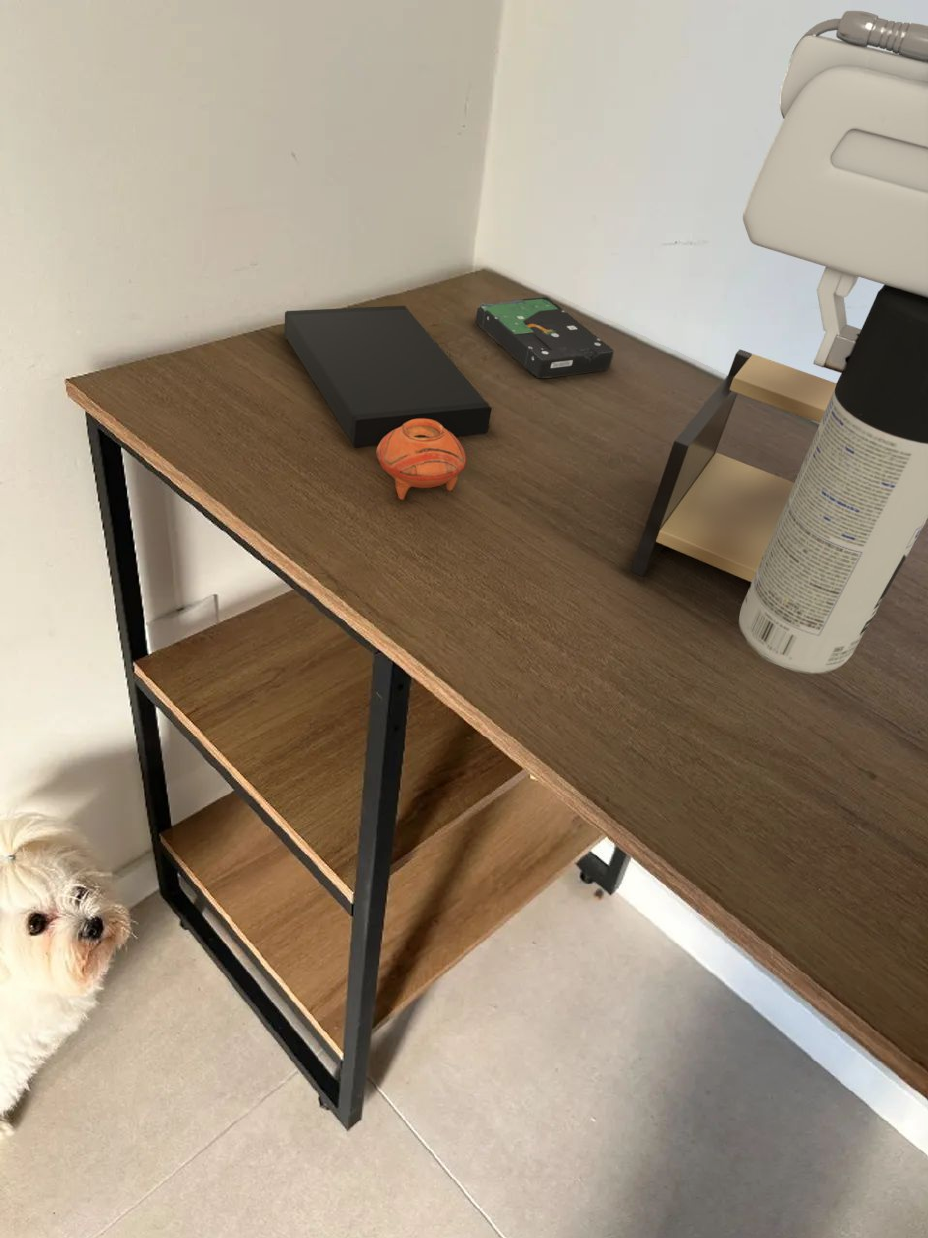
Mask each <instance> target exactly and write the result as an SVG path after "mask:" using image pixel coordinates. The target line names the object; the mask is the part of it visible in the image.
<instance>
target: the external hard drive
mask: <svg viewBox="0 0 928 1238" xmlns="http://www.w3.org/2000/svg"><path fill="white" fill-rule="evenodd" d="M283 334H284V337H285V338H286V340H287V342H288V343H289V345H290V346H291V348H292V349H293V351H294V353H295V355H296V356H297V358H298V359H299V361H300V363H301V364H302V366H303V367H304V368H305V370H306V372H307V374H308V375H309V377H310V379H311V380H312V382H314V385H315V387H316V388H317V390H318V391H319V393H320V394H321V396H322V398H323V399H324V401H325V402H326V404H327V405H328V407H329V408H330V410H331V412H332V414H333V416H334V417H335V418H336V420H337V421H338V423H339V424H340V426H341V427H342V429H343V432H344V433H345V434H346V436H347V437H348V439H349V441H350V442H351V444H352V445H353V447H354V448H364V447H374V446H378V445H379V443H380V442H381V440H382V439H383V438H384V437H385V436H386V435H387V434H388V433H390V432H391V431H393V430H395V429H397V428H399V427H401V426H402V425H403V424H404V423H406V422H408V421H410V420H412V419H422V418H423V419H432V420H435V421H437V422H438V423H440V424H441V425H442V426H443V428H445V429H447V430H448V431H449V432H451V433H452V434H453V435H454V436H455V437H456V438H457V437H466V436H475V435H484V434H487V433H488V431H489V427H490V422H491V421H490V420H491V415H492V410H493V409H492V407H491V405H490V404H489V403H488V402H487V401H486V399H485V398H484V397H483V396H482V395H481V394H480V392H479V391H478V390H477V389H476V388H475V386H474V385H473V384H472V383H471V382H470V381H469V380H468V378H467V377H466V376H465V374H463V372H462V371H461V370H460V369H459V368H458V367H457V366H456V364H455V363H454V361H453V360H452V359H451V358H450V357H449V356H448V354H446V353H445V351H444V350H443V349H442V347H440V345H439V344H438V342H437V341H436V340H435V339H433V337H432V335H430V334H429V332H428V331H427V330H426V329H425V328H424V326H423V325H422V324H421V323H420V322H419V321H418V320H417V318H416V316H414V315H413V313H411V311H410V310H409V309H408V308H407V307H406V305H387V306H385V305H384V306H366V307H365V306H364V307H363V306H362V307H346V308H345V307H344V308H342V307H341V308H322V309H321V308H320V309H302V310H301V309H300V310H286V311H285V312H284V333H283Z"/></svg>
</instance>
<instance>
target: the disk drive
mask: <svg viewBox="0 0 928 1238" xmlns="http://www.w3.org/2000/svg"><path fill="white" fill-rule="evenodd" d="M475 322H476V323H477V325H478V326H479V327H480V328H481V330H483V331H485V333H486V334H488V335H489V336H490V337H491V338H492V339H493V340H494V341H495V342H496V343H497V344H498V345H499V346H501V347H502V348H503V349H504V350H505V351H506V352H507V353H508V354H510V356H511V357H513V358H514V359H515V360H516V361H517V362H518V363H519V364H520V365H521V366H522V367H524V369H525V370H527V371H528V372H530V374H532V375H533V376H535V377H536V378H538V379H547V378H548V379H549V378H558V377H564V376H572V375H573V376H574V375H580V374H588V373H595V372H600V371H604V370H609V369H611V364H612V360H613V357H614V353H615V350H614V349H612V348H611V346H610V345H608V344H607V343H606V342H605V341H603V340H601V339H600V338H599V337H598V336H597V335H596V334H594V333H593V332H592V331H590V330H589V329H588V328H587V327H585V326H584V325H583V324H581V323H580V321H578V320H576V318H574V317H573V316H572V315H570V314H569V313H568V312H566V311H565V310H564V309H563V308H562V307H561V306H560V305H558V304H557V303H555V302H554V301H553V300H552V299H550V298H549V297H548V296H545V297H544V296H543V297H533V298H523V299H522V298H518V299H517V298H516V299H511V301H505V302H504V301H502V302H501V301H500V302H496V303H495V302H494V303H486V302H481V304H480V307H477V309H476V315H475Z"/></svg>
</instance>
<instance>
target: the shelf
mask: <svg viewBox="0 0 928 1238" xmlns="http://www.w3.org/2000/svg"><path fill="white" fill-rule="evenodd" d="M836 384H837V382H834V381H831V380H828V379H826V378H823V377H820V376H817V375H814V374H812V373H808V372H806V371H803V370H801V369H797V368H794V367H791V366H788V365H785V364H783V363H780V362H777V361H774V360H771V359H769V358H766V357H763V356H760V355H757V354H754V353H751V352H749V351H746V350H743V349H738V350H737V352H736V353H735V355H734V358H733V360H732V363H731V366H730V369H729V371H728V374H727V375H726V377H725V378H724V379H723V381H721V383H720V384H719V385H718V386H717V388H716V389H715V390H714V391H713V392H712V394H711V395H710V396H709V398H708V399H707V400H706V401H705V402H704V404H703V405H702V406H701V407H700V409H699V410H697V412H696V414H695V415H694V416H693V417H692V418H691V420H690V421H689V422H688V423H687V425H686V426H685V427H684V428H683V430H682V431H681V432H680V433H679V434H678V435H677V437H676V438H675V440H674V441H673V444H672V447H671V450H670V453H669V456H668V459H667V462H666V463H665V467H664V470H663V473H662V476H661V479H660V482H659V485H658V488H657V491H656V494H655V497H654V500H653V503H652V505H651V509H650V512H649V514H648V518H647V521H646V523H645V526H644V529H643V532H642V534H641V535H642V536H641V538H640V541H639V544H638V547H637V550H636V553H635V556H634V559H633V562H632V565H631V567H630V572H631V573H633V574H635V575H637V576H639V577H644V576H645V574H646V573H648V570H649V569H650V567H651V566H652V564H653V563H654V561H655V560H656V559H657V557H658V556H659V555H660V553H661V552H662V550H663V549H664V547H667V548H670V549H672V550H675V551H677V552H679V553H681V554H684V555H686V556H688V557H691V558H693V559H695V560H698V561H700V562H702V563H705V564H707V565H709V566H712V567H714V568H717V569H718V570H721V571H724V572H726V573H728V574H731V575H732V576H736V577H738V578H740V579H742V580H745V581H747V582H750V583H752V581H753V579H754V576H755V574H756V571H757V569H758V567H759V564H760V562H761V560H762V557H763V555H764V553H765V550H766V548H767V546H768V544H769V541H770V539H771V537H772V534H773V532H774V529H775V527H776V525H777V522H778V520H779V518H780V516H781V513H782V511H783V508H784V506H785V504H786V501H787V499H788V497H789V495H790V492H791V490H792V488H793V485H794V483H795V482H794V481H790V480H788V479H786V478H783V477H780V476H777V475H776V474H773V473H770V472H768V471H765V470H762V469H760V468H757V467H755V466H752V465H749V464H747V463H744V462H741V461H739V460H736V459H734V458H732V457H729V456H727V455H724V454H721V453H718V452H717V449H718V447H719V445H720V441H721V439H722V436H723V433H724V431H725V428H726V425H727V423H728V420H729V417H730V415H731V412H732V410H733V408H734V404H735V401H736V399H737V397H738V394H739V395H742V396H744V397H748V398H749V399H752V400H756V401H758V402H760V403H764V404H766V405H769V406H772V407H774V408H777V409H780V410H783V411H785V412H789V413H791V414H794V415H796V416H798V417H799V416H800V417H802V418H805V419H807V420H810V421H813V422H815V423H818V424H820V422H821V420H822V417H823V415H824V413H825V410H826V408H827V406H828V403H829V401H830V399H831V397H832V394H833V392H834V390H835V387H836Z"/></svg>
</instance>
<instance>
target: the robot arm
mask: <svg viewBox="0 0 928 1238" xmlns="http://www.w3.org/2000/svg"><path fill="white" fill-rule="evenodd" d="M833 31H836V34H835V37H836V38H837V39H836V38H832V37H827V36H823V35H822V34H824V33H827V32H833ZM878 48H879V49H878ZM779 108H780V109H779V110H780V113H781V116H782V118H783V120H782V122H781V124H780V126H779V128H778V130H777V132H776V134H775V135H774V137H773V140H772V142H771V144H770V146H769V148H768V151H767V152H766V155H765V157H764V160H763V161H762V164H761V166H760V168H759V170H758V173H757V175H756V177H755V180H754V182H753V185H752V187H751V190H750V193H749V195H748V198H747V201H746V202H745V206H744V210H743V212H742V222H743V225H744V227H745V231H746V233H747V234H746V235H747V236H748V239H749V241H750V242H751V244H753V245H755V246H758V247H761V248H764V249H767V250H771V251H773V252H777V253H781V254H783V255H786V256H790V257H793V258H797V259H800V260H803V261H806V262H810V263H813V264H816V265H819V266H822V267H825V268H824V269H823V272H822V275H821V278H820V280H819V283H818V285H817V288H816V294H817V298H818V299H817V300H818V306H819V312H820V319H821V324H822V330H823V332H825V333H824V335H823V338H822V340H821V343H820V345H819V347H818V349H817V353H816V355H815V357H814V360H813V365H815V366H818V367H820V368H824V369H827V370H831V371H834V372H837V373H840V374H841V373H843V372H844V369H845V367H846V365H847V363H848V359H849V356H850V355H851V354H852V351H853V349H854V347H855V344H856V342H857V339H858V336H859V334H860V331H861V329H862V328H858V327H856V326H853V325H850V324H848V319H847V311H846V303H845V298H847V297H848V296H849V295H850V293H851V292H852V290H853V289H854V287H855V285H856V284H857V282H858V279H859V278H861V279H865V280H868V281H872V282H875V283H878V284H881V285H883V286H884V285H887V286H891V287H894V288H897V289H900V290H904V291H907V292H910V293H913V294H917V295H920V296H923V297H927V298H928V25H926V24H921V23H915V22H912V23H910V22H902V21H894V20H889V19H885V18H881V17H879V15H878V14H875V13H871V12H867V11H862V10H846V11H844V13H843V14H842V16H841V18H831V19H827V20H824V21H822V22H819V23H817V24H815V25H814V26H812V27H811V28H810V29H809V30H807V32H805V33H804V34H803V36H802V37H801V38H800V39H799V40H798V41H797V43H796V45H795V46H794V49H793V50H792V52H791V55H790V59H789V62H788V65H787V67H786V71H785V74H784V77H783V81H782V82H781V87H780V91H779Z"/></svg>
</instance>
